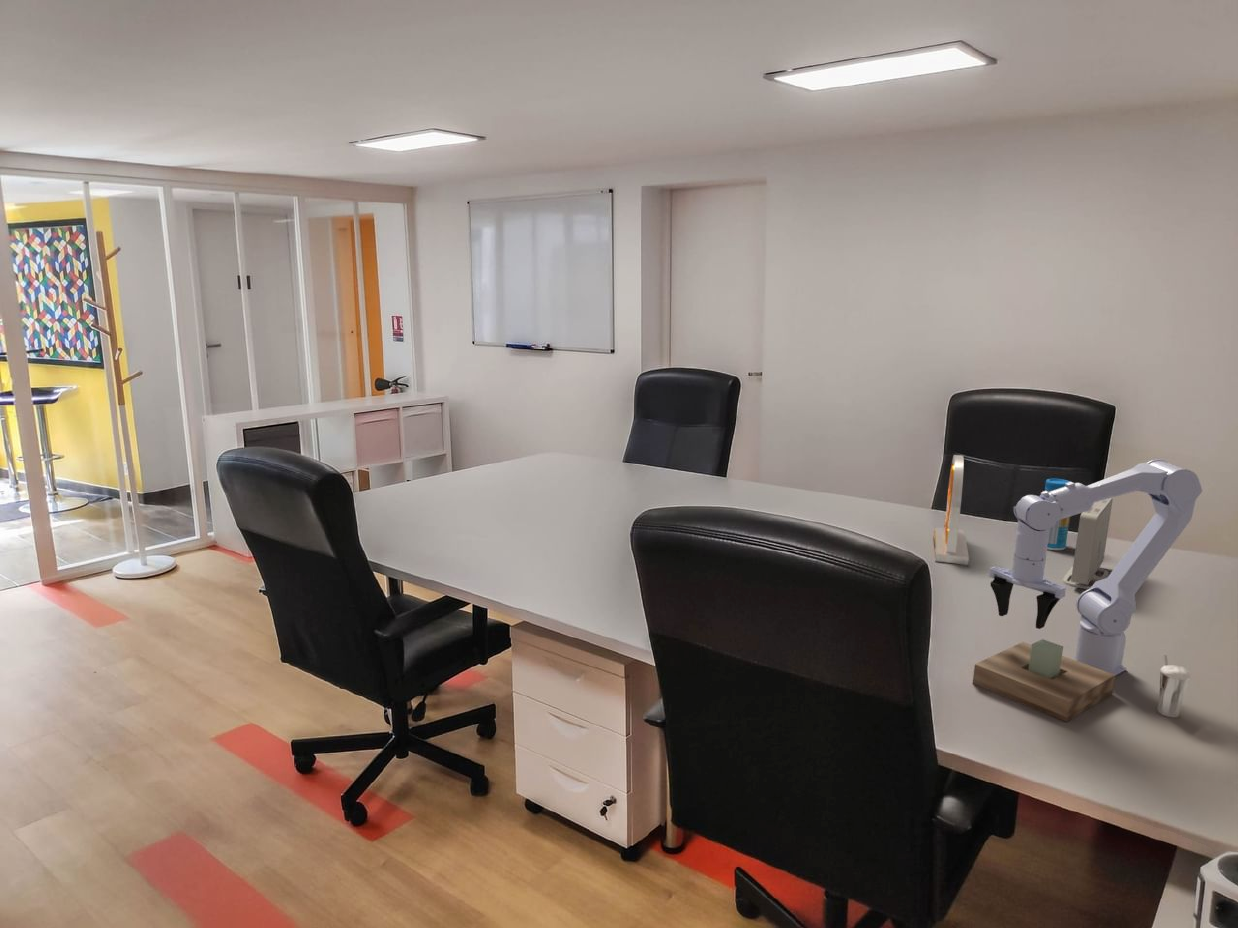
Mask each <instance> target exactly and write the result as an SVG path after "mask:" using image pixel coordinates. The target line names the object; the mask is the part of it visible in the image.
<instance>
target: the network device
mask: <svg viewBox="0 0 1238 928" xmlns="http://www.w3.org/2000/svg"><path fill="white" fill-rule="evenodd" d="M1112 507H1113V497H1112V498H1108V499H1104V500H1101V501H1097V502H1094V504H1093V506H1092V508H1091V509H1090V510H1089V511H1086V512H1083V513H1080V517H1079V521H1078V522H1079V523H1078V529H1077V537H1076V543H1075V551H1074V558H1073V565H1072V566H1071V567H1070V568H1069V569H1068V571H1067V573H1066V574H1065V575H1064V576H1063V578H1062V583H1063V584H1065V585H1067V586H1070V587H1074V588H1079V589H1082V590H1083V589H1084V590H1088V589H1090V588H1091V587H1092V586H1093V585H1092V586H1091V585H1089V584H1090V582H1091V581H1092V582H1094V583H1095V582H1096V581H1099V580H1103V579H1106V578H1108V576H1109V572H1110V571H1108V570H1106V569H1104V568H1100V567H1101V565H1102V564H1103V562H1104V558H1105V553H1106V545H1107V541H1108V533H1109V525H1110V519H1111V514H1112V513H1111V512H1112ZM1097 572H1100V573H1103V574H1102V575H1101V576H1098V575H1096V573H1097ZM1070 578H1071V579H1070ZM1069 579H1070V581H1069Z"/></svg>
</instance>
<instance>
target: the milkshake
mask: <svg viewBox="0 0 1238 928" xmlns="http://www.w3.org/2000/svg"><path fill="white" fill-rule="evenodd" d="M1163 658H1164V665H1163V666H1162V667H1161V666H1160V667H1161V668H1160V671H1159V693H1158V705H1157V713H1159V714H1160V715H1161V716H1165V717H1167V718H1171V719H1172V718H1174V719H1175V718H1178V717H1179V715H1180V713H1181V709H1182V706H1183V705H1182V704H1183V700H1184V697H1185V693H1186V690H1187V688H1188V684H1189V682H1190V678H1191V674H1190V672H1189V671H1188V669H1186V668H1185V667H1184V666H1178V665H1175V664H1174V665H1171V664H1169V663H1168V655H1167V654H1165V655H1163Z"/></svg>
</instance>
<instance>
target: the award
mask: <svg viewBox="0 0 1238 928" xmlns="http://www.w3.org/2000/svg"><path fill="white" fill-rule="evenodd" d="M964 463H965V461H964V455H960V454H953V456H952V461H951V466H950V472H949V478H948V479H949V480H948V489H947V498H946V499H947V501H946V509H945V510H946V512H945V515H944V520H945V521H944V525H943V527H938V526H936V527H935V528H934V530H933V532H932V540H933V541H932V542H933V550H934V558H935V562H940V563H945V564H946V563H948V564H956V565H965V566H968V565H969V559H970V557H969V550H968V545H967V539H966V533H965V530H964V529H959V524H960V516H961V507H962V496H963V487H964V486H963V485H964V484H963V483H964V468H965V467H964V465H965V464H964Z"/></svg>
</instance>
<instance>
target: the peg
mask: <svg viewBox="0 0 1238 928" xmlns="http://www.w3.org/2000/svg"><path fill="white" fill-rule="evenodd" d="M1031 645H1032V647H1031V655H1030V662H1029V670H1028V671H1031V672H1034V673H1036V674H1039V675H1041V676H1044V677H1047V678H1049V679H1054V678H1056V677H1058V676H1059V673H1060V666H1061V659H1062V656H1063V653H1064V652H1063V651H1064V645H1061V644H1057V643H1054V642H1052V641H1049V640H1047V639H1043V638H1041V639H1040V640H1038V641H1035V642H1034V643H1032V644H1031Z"/></svg>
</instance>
